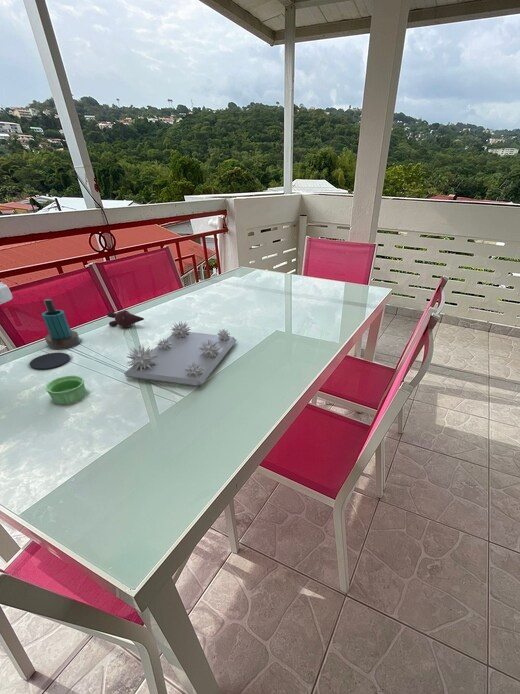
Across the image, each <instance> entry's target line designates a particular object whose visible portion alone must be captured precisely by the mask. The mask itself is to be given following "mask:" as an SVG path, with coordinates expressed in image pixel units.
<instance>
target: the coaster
mask: <svg viewBox="0 0 520 694" xmlns="http://www.w3.org/2000/svg"><path fill="white" fill-rule="evenodd" d="M70 361H71V356H70V355H69V354H68V353H66V352H51V353H50V352H49V353H45V354H42V355H39V356H37V357H35V358H33V359H31V360H30V362H29V366H30V368H32V369H33V370H37V371H48V370H53V369H57V368H60V367H63V366H64V365H66V364H68V363H69V362H70Z"/></svg>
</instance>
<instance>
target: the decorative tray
mask: <svg viewBox="0 0 520 694" xmlns="http://www.w3.org/2000/svg"><path fill="white" fill-rule="evenodd" d="M180 321H181V322H180ZM180 321H179V322H178V323H176V322H174V324H173V326H170V328H169V330H170V331H172V332H170V334H169V336H168V337H167V338H162V339H161V338H160V339H159V342H157V343H156V346H155V347H153V348H152V349H151V348H150V345H149V346H148V347H147V348H146V349H145V346H142V345H141V344H139V345H138V349H137V348H136V347H134V346H133V347H132V348H131V347H130V348H129V349H130V350H131V351H132V352H130V353H126V355H127V356H126V358H128V359H131V360H130V361H127V362H126V364H127V367H130V368H128V369H127V370H126V371H125V372H124V373H123V375H124V376H125V377H127V378H130V379H137V380H143V381H151V382H160V383H165V384H174V385H181V386H189V387H195V388H196V387H197V388H199V387H201V386H202V385H203V384H204V383H205V382H206V380H207V379H208V378H209V376H210V375H211V374H212V372H213V371H214V370H215V369H216V367H217V366H218V365H219V364H220V363H221V361H222V360H223V359H224V357H225V356H226V355H227V353H228V352H229V351H230V350H231V348H232V347H233V346H234V344H235V343H236V342H237V339H236V338H235V337H234V336H230V335H231V333H230V332H229V330H228V329H226V330H225V328H222V330H221V329H219V332H218V333H217V334H211V333H203V332H195V331H191V329H192V326H188V325H189V323H186V321H185V322H184V323H183V322H182V320H180Z"/></svg>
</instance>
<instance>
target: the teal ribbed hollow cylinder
mask: <svg viewBox="0 0 520 694" xmlns="http://www.w3.org/2000/svg"><path fill="white" fill-rule="evenodd" d="M56 311H57V314H56V315H49V313H48V311H47V310H46V311H43V312H42V313H41V317H42V319H43V322H44V325H45V327H46V329H47V332H48V335H49V334H50V337H51V339H65V338H68V337H70V336H71V335H72V333H71V331H72V330H71V328H70V325H69V323H68V320H67V317H66V314H65V311H64V310H63V309H56Z"/></svg>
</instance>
